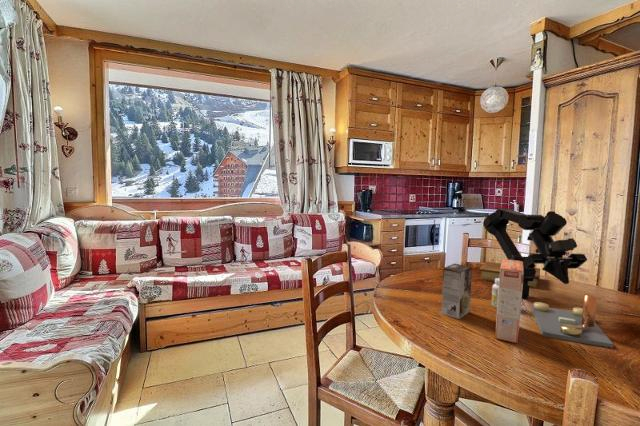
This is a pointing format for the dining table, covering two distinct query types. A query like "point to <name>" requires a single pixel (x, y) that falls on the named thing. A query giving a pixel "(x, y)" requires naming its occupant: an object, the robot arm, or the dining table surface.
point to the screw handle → (583, 317)
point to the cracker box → (509, 300)
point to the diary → (493, 271)
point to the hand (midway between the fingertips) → (567, 283)
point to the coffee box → (456, 290)
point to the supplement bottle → (495, 292)
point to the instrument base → (554, 318)
